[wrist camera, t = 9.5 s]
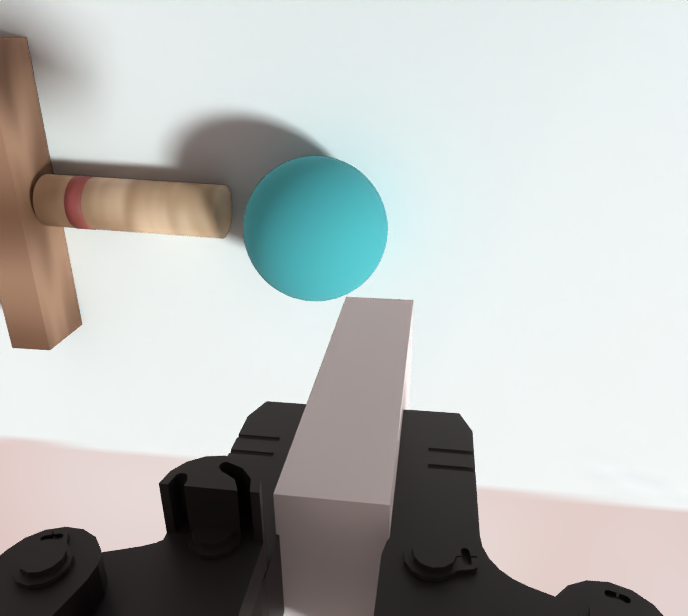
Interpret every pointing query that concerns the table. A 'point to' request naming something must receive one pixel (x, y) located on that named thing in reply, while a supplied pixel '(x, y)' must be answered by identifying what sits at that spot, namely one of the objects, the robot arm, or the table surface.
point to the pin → (133, 205)
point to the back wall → (29, 216)
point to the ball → (315, 228)
